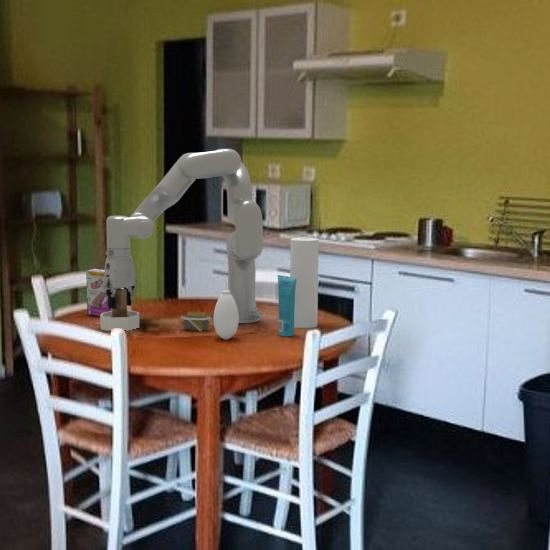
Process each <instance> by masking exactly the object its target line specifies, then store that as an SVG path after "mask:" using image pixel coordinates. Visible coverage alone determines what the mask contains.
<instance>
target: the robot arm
mask: <svg viewBox="0 0 550 550" xmlns="http://www.w3.org/2000/svg"><path fill="white" fill-rule="evenodd" d="M216 177H222V178H223V180H224V182H225V186H226V197H227V198H226V199H227V200H226V201H227V218H228V220H229V221H230V223H232V225H234V231H232V232H231V233H230V235H228V237H227V241H226V246H225V247H226V256H227V290H229V291H230V294H231V295H232V296H233V298H234V300H235V302H236V305H237V309H238V314H239V323H238V324H251V323H257V322H259V321H260V319H263V316H264V312H263V311H259V308H258V307H256V259H257V258H259V257H260V256H261V254H262V252H263V249H264V226H263V215H262V210H261V208H260V206H259V205H258V203H257V202H255V201H253V192H252V191H253V190H252V183H251V182H252V181H251V176H250V173H249V171H248V169H247V167H246V166H245V164H244V163H243V162H242V158H241V155H240V154H239V153H238V152H237V151H236V150H235V149H232V148H218V149H215V150H210V151H204V152H203V151H201V152H187V153H183V154H182V155H181V156H180V157H179V158H178V159H177V161H176V162H175V163H174V164H173V166H172V167H171V168H170V169H169V171H168V172H167V173H166V174H165V176H163V178H162V179H161V180H160V182H159V183H158V184H157V185H156V186H155V187H154V188H153V190H151V192H150V193H149V194H148V195H147V196H146V197H145V198H144V199H143V200H142V202H141V203H140V204H139V205H138V206H137V208H136V209H135V210H134V211H133V213H132V214H131V215H130V216H127V215H126V216H125V215H109V216H108V217H107V218H106V223H105V225H106V251H105V255H106V258H105V263H104V264H105V265H104V270H105V273H104V282H103V283H102V285H101V289H102V290H103V291H104V293H105V294H106V296H108V308H111V309H116V297H114V295H115V292H116V289H126V290H127V307H130V306H132V294H133V293H134V291H133V290H134V289H135V288H136V285H137V284H138V280H137V279H136V272H135V271H136V270H135V266H134V264H135V263H134V260H133V256H131V238H136V239H147V238H149V237H150V236H152V234H153V233H154V231H155V221H156V220H157V219H158V218H159V217H160V215H161V214H163V212H164V211H166V210H167V209H169V208H171V207H172V206H174V205H175V204H176V203H178V201H180V200H181V198H182V197H183V195H184V194H185V193H186V191H188V189H189V188H190V186H191V185H192V184H193V183H194V182H195V181H196V179H197V180H199V179H210V178H216ZM111 289H112V292H111Z"/></svg>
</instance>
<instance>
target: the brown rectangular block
mask: <svg viewBox="0 0 550 550" xmlns="http://www.w3.org/2000/svg"><path fill="white" fill-rule="evenodd" d="M114 297H116V309H112V317H127V310H128V306H127V290H126V289H123V288H119V289H116V292H115V295H114Z"/></svg>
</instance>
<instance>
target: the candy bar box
mask: <svg viewBox="0 0 550 550" xmlns="http://www.w3.org/2000/svg"><path fill="white" fill-rule="evenodd" d="M85 273H86V275H85V276H86V279H85V280H86V307H87V309H86V310H87V316H91V317H92V316H93V317H99V318H100V315H101V313H104V312H109V311H112V309H111V308H108V296H106V294H105V293H104V291H103V290H102V289H101V285H102V283H103V282H104V273H105V269H100V268H99V269H98V268H93V269H88V270H86V271H85ZM111 292H112V289H111Z"/></svg>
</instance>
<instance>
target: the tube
mask: <svg viewBox="0 0 550 550" xmlns="http://www.w3.org/2000/svg"><path fill="white" fill-rule="evenodd" d="M296 278H297V277H290V276H287V275H282V274H280V275H279V274H278V275H277V285H278V286H277V288H278V295H277V296H278V335H279V336H280V337H293V336H294V335H295V327H294V312H295V289H296Z"/></svg>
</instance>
